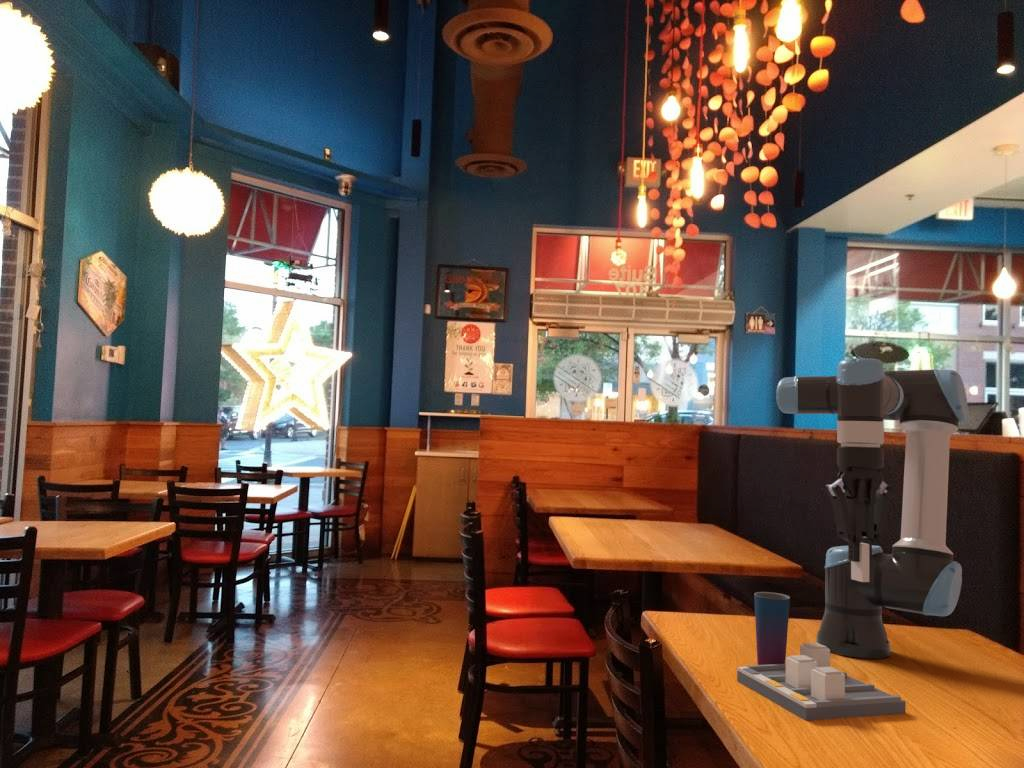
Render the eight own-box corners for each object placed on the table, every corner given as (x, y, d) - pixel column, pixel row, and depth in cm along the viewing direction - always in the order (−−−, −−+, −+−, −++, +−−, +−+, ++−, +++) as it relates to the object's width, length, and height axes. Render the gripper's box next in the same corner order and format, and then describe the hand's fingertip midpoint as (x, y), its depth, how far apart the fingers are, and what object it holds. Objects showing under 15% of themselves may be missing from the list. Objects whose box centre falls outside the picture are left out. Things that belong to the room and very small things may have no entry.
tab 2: (830, 694, 128) (830, 665, 128) (844, 701, 125) (844, 672, 125) (810, 696, 127) (811, 666, 127) (824, 703, 124) (825, 673, 124)
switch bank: (826, 676, 146) (826, 661, 146) (905, 713, 126) (905, 696, 127) (737, 681, 140) (737, 665, 140) (806, 720, 121) (806, 703, 121)
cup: (791, 679, 143) (792, 600, 144) (754, 675, 144) (755, 597, 145) (786, 668, 149) (787, 593, 150) (751, 665, 151) (752, 590, 152)
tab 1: (817, 667, 144) (817, 642, 144) (829, 673, 140) (830, 647, 141) (799, 668, 143) (800, 642, 143) (811, 674, 139) (812, 648, 140)
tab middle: (804, 681, 135) (804, 654, 135) (817, 688, 131) (817, 659, 132) (785, 682, 134) (785, 655, 134) (797, 689, 130) (798, 660, 131)
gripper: (874, 446, 136) (874, 575, 135) (814, 444, 133) (814, 577, 131) (906, 447, 129) (907, 583, 127) (844, 445, 125) (844, 585, 124)
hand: (860, 580), depth 129 cm, fingers closed
